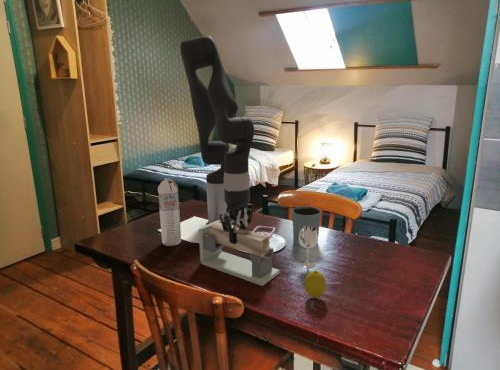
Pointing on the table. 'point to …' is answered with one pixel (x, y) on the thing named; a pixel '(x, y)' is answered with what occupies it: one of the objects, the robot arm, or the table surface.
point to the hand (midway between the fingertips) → (238, 240)
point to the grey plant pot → (304, 220)
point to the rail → (241, 240)
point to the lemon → (315, 284)
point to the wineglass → (308, 242)
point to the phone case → (267, 227)
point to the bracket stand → (235, 260)
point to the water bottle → (169, 212)
